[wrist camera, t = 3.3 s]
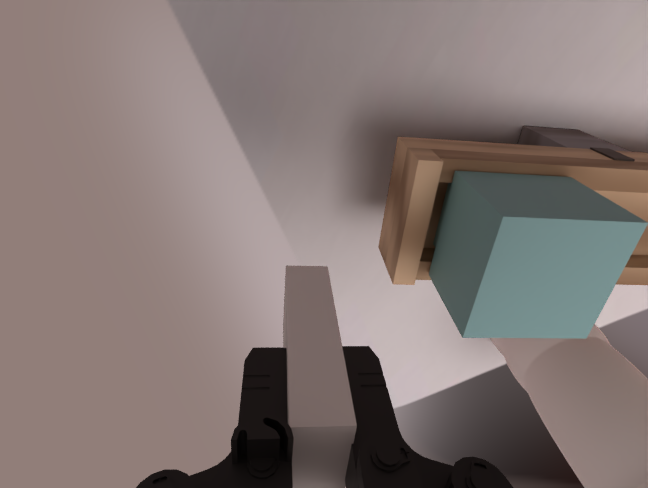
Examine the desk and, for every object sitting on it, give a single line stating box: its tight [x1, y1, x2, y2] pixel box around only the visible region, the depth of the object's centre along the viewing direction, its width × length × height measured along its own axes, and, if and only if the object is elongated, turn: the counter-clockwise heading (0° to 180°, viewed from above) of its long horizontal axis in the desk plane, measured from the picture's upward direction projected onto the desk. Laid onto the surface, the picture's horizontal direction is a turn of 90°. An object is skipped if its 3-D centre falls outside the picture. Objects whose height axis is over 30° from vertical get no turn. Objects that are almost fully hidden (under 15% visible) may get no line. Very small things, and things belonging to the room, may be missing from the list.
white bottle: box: [490, 324, 648, 488], centre depth 25 cm, size 7×7×25 cm
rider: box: [429, 171, 648, 339], centre depth 20 cm, size 6×6×6 cm
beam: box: [379, 126, 648, 285], centre depth 25 cm, size 7×24×12 cm, turn 85°
